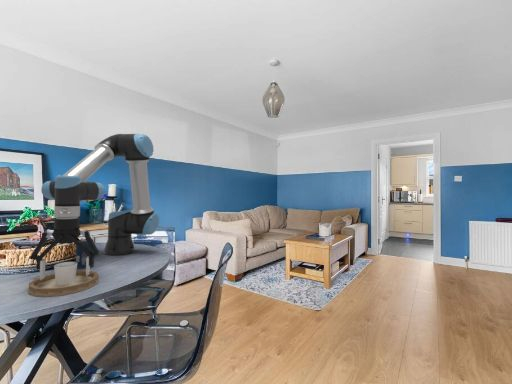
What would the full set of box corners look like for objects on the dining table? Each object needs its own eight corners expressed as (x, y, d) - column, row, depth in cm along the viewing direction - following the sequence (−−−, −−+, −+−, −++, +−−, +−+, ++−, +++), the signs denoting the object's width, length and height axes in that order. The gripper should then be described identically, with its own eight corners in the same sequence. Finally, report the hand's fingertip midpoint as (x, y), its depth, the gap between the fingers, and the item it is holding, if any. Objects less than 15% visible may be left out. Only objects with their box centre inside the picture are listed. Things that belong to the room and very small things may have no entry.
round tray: (91, 273, 109) (91, 267, 109) (104, 286, 94) (104, 280, 94) (27, 284, 95) (27, 277, 95) (30, 301, 80) (31, 294, 80)
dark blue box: (87, 263, 122) (88, 238, 122) (97, 265, 119) (98, 239, 119) (72, 267, 116) (72, 240, 116) (82, 269, 113) (82, 242, 113)
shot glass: (64, 287, 91) (65, 267, 91) (48, 285, 92) (48, 265, 92) (81, 280, 97) (82, 262, 97) (66, 279, 99) (66, 260, 99)
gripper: (18, 219, 86) (17, 283, 86) (105, 218, 96) (103, 276, 96) (27, 217, 93) (26, 276, 93) (107, 216, 103) (106, 270, 103)
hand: (65, 276), depth 95 cm, fingers open, 13 cm apart
